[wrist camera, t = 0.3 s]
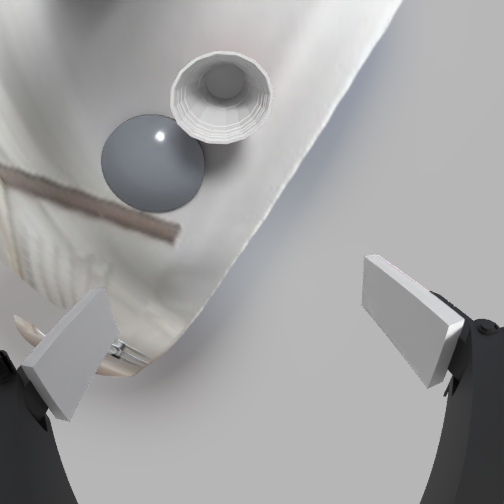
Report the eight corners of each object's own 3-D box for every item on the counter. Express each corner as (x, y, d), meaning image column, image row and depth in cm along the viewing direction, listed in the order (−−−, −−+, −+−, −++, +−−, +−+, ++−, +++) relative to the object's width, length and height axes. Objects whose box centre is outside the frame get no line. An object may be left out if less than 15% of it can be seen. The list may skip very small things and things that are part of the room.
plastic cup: (266, 112, 36) (276, 142, 28) (194, 119, 37) (179, 151, 28) (263, 44, 29) (272, 47, 20) (184, 52, 29) (161, 60, 20)
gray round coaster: (87, 159, 39) (83, 163, 38) (157, 92, 33) (154, 94, 32) (151, 221, 50) (150, 226, 49) (226, 173, 44) (226, 178, 43)
